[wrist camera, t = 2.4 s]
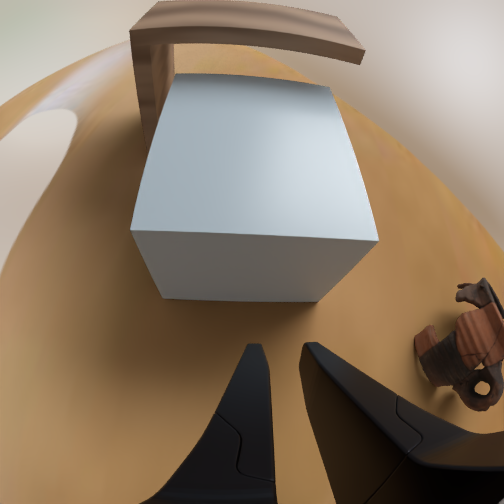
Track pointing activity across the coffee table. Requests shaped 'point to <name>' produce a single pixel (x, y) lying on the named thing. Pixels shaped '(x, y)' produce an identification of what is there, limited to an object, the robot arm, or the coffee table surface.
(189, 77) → the grey hollow box
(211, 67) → the coffee table surface
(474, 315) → the pottery mug
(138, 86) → the overhang
